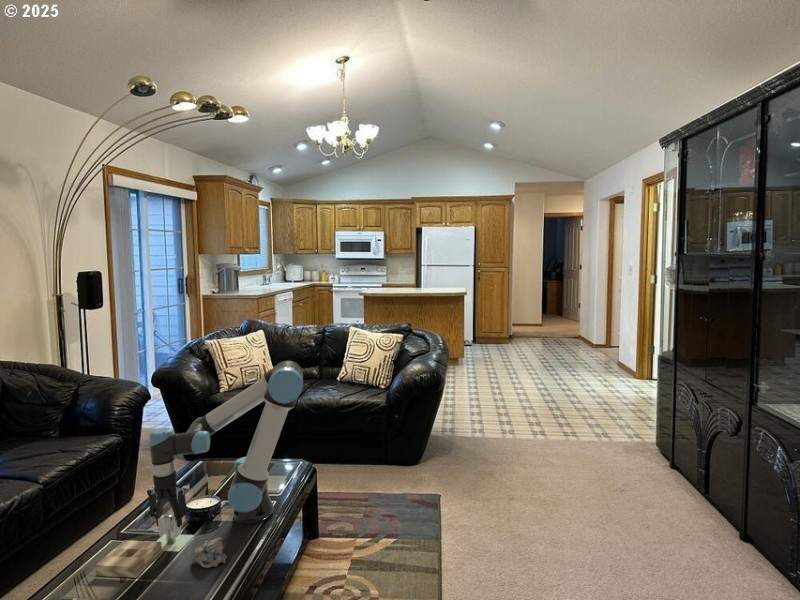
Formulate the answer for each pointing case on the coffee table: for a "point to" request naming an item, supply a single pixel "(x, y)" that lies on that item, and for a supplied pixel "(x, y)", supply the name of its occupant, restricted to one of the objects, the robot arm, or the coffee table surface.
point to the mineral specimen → (210, 553)
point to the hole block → (128, 558)
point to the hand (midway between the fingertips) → (170, 534)
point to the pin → (169, 529)
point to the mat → (177, 546)
